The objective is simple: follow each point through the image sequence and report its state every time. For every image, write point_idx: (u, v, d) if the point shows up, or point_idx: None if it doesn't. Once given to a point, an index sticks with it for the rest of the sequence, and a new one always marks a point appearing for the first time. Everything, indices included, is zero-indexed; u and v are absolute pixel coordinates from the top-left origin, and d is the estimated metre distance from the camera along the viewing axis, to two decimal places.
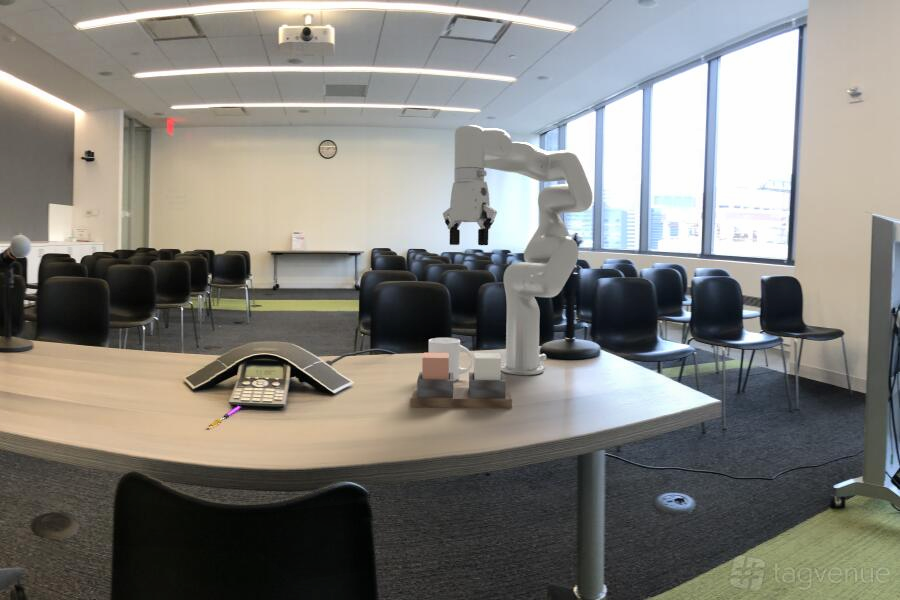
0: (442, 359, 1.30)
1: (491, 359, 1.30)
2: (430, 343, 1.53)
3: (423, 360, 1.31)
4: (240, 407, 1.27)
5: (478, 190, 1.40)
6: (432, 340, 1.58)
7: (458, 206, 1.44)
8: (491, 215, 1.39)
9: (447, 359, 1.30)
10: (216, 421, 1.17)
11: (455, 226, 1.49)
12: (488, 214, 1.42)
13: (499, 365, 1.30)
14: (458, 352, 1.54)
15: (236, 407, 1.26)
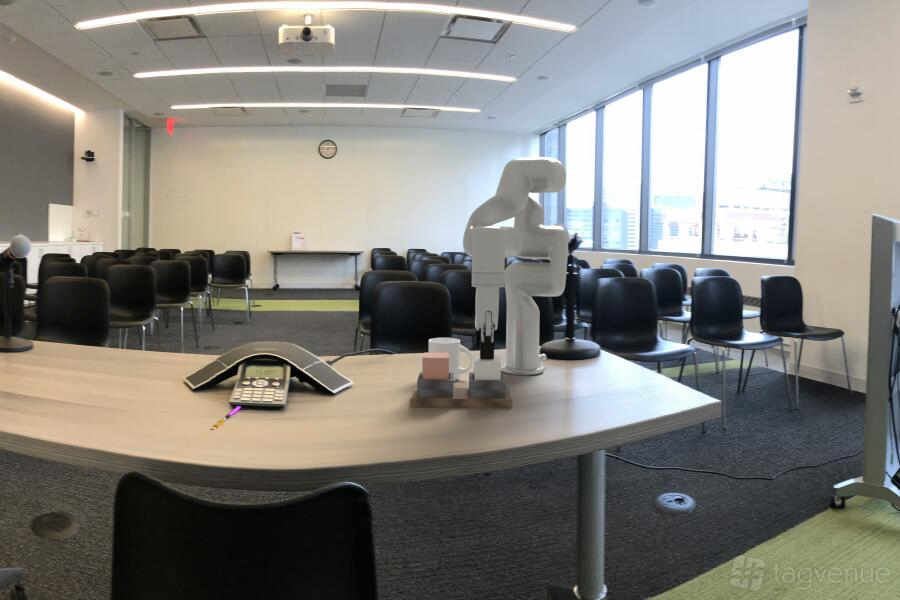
0: (442, 359, 1.30)
1: (491, 362, 1.30)
2: (430, 343, 1.53)
3: (423, 360, 1.31)
4: (240, 407, 1.27)
5: None
6: (432, 340, 1.58)
7: None
8: None
9: (447, 359, 1.30)
10: (220, 421, 1.17)
11: None
12: None
13: (499, 368, 1.31)
14: (458, 352, 1.54)
15: (236, 407, 1.26)
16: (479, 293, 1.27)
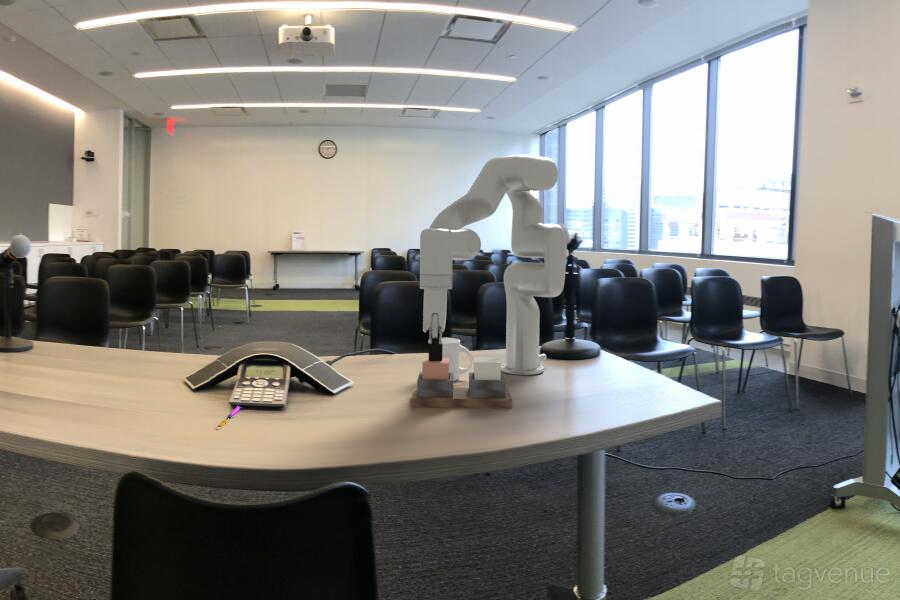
0: (442, 364, 1.31)
1: (491, 363, 1.30)
2: None
3: (423, 365, 1.31)
4: (240, 407, 1.27)
5: None
6: None
7: None
8: None
9: (447, 364, 1.31)
10: (223, 422, 1.17)
11: None
12: None
13: (499, 369, 1.31)
14: (458, 352, 1.54)
15: (236, 408, 1.26)
16: (425, 295, 1.28)
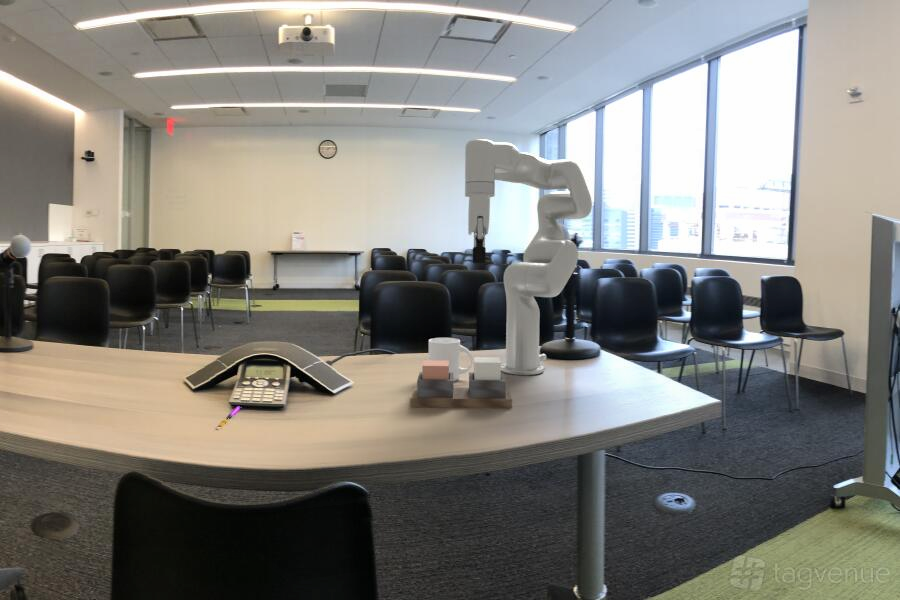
0: (442, 367, 1.31)
1: (491, 363, 1.30)
2: (430, 343, 1.53)
3: (423, 368, 1.31)
4: (240, 407, 1.27)
5: None
6: (432, 340, 1.58)
7: None
8: None
9: (447, 367, 1.31)
10: (223, 422, 1.17)
11: None
12: None
13: (499, 369, 1.31)
14: (458, 352, 1.54)
15: (236, 408, 1.26)
16: (471, 200, 1.40)
